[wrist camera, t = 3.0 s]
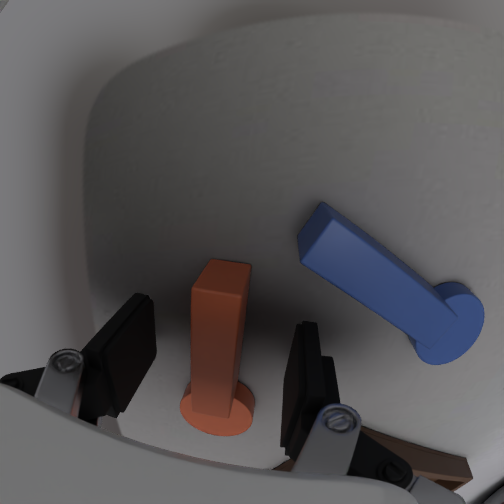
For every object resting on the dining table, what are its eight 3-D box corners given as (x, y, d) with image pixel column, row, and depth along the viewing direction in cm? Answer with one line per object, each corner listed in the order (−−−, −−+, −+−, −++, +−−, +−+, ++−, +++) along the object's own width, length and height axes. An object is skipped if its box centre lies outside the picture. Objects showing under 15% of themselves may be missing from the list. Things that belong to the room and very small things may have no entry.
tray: (241, 486, 18) (236, 510, 15) (347, 420, 14) (351, 454, 12) (372, 513, 19) (374, 531, 17) (466, 458, 15) (473, 478, 13)
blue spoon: (280, 258, 11) (278, 289, 9) (338, 177, 10) (354, 186, 8) (435, 360, 12) (454, 395, 10) (483, 305, 11) (511, 334, 8)
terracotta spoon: (185, 254, 12) (160, 282, 9) (278, 267, 11) (275, 301, 9) (186, 412, 15) (174, 447, 12) (250, 424, 15) (244, 461, 12)
